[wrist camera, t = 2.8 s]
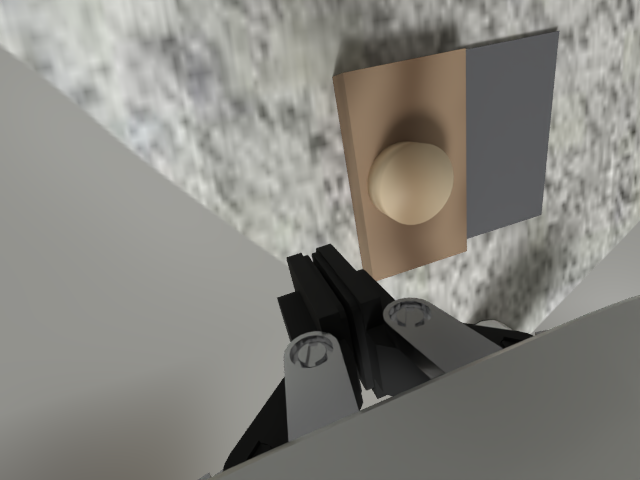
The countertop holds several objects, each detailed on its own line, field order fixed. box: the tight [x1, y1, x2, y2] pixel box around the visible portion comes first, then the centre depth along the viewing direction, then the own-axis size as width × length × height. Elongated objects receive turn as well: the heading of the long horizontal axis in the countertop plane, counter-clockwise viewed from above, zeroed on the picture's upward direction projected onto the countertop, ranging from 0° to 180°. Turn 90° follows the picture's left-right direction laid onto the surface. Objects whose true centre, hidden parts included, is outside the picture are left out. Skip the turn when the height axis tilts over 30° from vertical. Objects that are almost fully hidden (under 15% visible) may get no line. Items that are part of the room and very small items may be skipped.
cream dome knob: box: [367, 141, 454, 225], centre depth 20 cm, size 5×5×2 cm
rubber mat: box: [466, 31, 559, 239], centre depth 24 cm, size 9×14×1 cm, turn 11°
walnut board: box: [332, 48, 467, 281], centre depth 22 cm, size 8×14×2 cm, turn 11°
